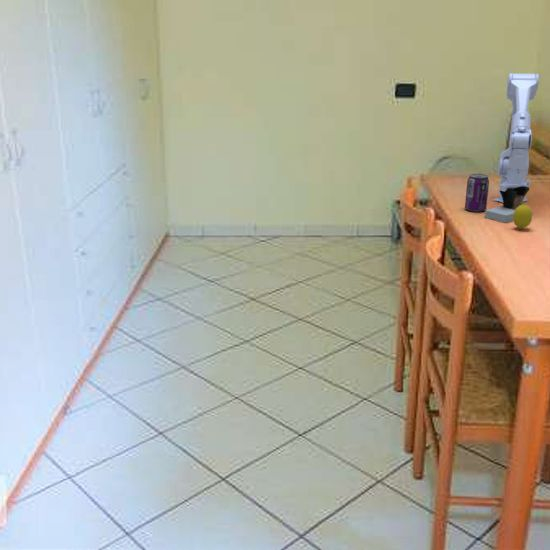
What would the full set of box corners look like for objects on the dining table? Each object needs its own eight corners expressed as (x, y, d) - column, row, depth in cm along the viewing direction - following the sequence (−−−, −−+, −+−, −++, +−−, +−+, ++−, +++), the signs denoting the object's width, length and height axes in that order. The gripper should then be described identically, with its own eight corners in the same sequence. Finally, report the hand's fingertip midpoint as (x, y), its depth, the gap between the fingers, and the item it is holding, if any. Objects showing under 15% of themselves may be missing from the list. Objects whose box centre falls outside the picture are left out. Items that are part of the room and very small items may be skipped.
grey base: (499, 213, 227) (500, 206, 226) (520, 218, 221) (521, 211, 220) (484, 217, 223) (485, 210, 222) (505, 223, 217) (506, 215, 216)
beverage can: (486, 213, 228) (490, 178, 224) (465, 212, 229) (468, 177, 225) (485, 207, 234) (488, 173, 230) (464, 207, 236) (467, 172, 232)
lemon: (530, 227, 212) (533, 202, 209) (530, 232, 207) (533, 207, 204) (511, 225, 214) (514, 201, 211) (511, 230, 209) (514, 205, 206)
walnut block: (509, 210, 231) (511, 193, 229) (521, 213, 228) (523, 195, 225) (501, 212, 228) (503, 195, 226) (513, 215, 225) (515, 197, 223)
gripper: (514, 173, 216) (509, 214, 220) (540, 168, 224) (535, 207, 229) (495, 170, 221) (491, 210, 226) (521, 164, 229) (517, 203, 234)
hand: (512, 208), depth 227 cm, fingers closed on walnut block, 4 cm apart
